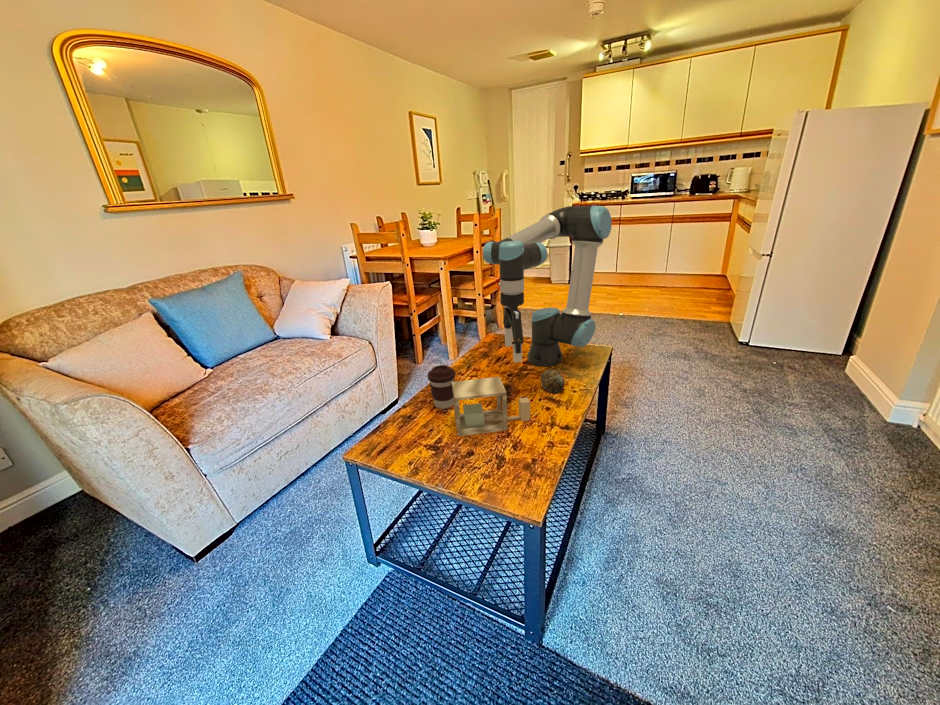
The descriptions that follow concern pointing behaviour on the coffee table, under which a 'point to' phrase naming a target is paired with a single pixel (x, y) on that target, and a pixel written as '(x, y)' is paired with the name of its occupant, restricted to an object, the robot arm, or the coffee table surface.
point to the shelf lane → (486, 416)
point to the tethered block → (476, 418)
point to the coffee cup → (442, 385)
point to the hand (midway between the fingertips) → (513, 353)
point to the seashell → (552, 381)
